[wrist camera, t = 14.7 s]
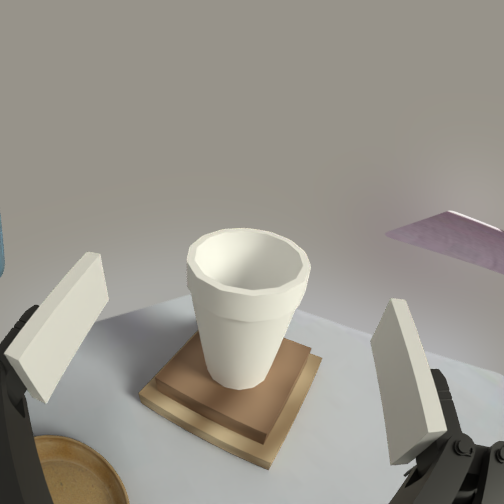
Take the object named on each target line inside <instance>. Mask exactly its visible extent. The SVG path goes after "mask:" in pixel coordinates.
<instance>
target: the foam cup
mask: <svg viewBox="0 0 504 504" xmlns="http://www.w3.org/2000/svg"><path fill="white" fill-rule="evenodd" d="M310 269H311V265H310V263H309V260H308V257H307V255H306V252H305V251H303V250H302V249H301V248H300V247H299V246H297V245H296V244H295V243H294V242H293V241H291V240H289V239H287V238H284V237H282V236H280V235H277V234H275V233H272V232H268V231H262V230H256V229H250V228H236V229H222V230H219V231H216V232H212V233H209V234H206V235H203V236H202V237H201V238H199V239H198V240H197V241H196V242H195V243H193V244H192V245H191V246H190V248H189V252H188V256H187V287H188V289H189V290H190V292H191V296H192V301H193V306H194V311H195V316H196V321H197V325H198V330H199V335H200V340H201V344H202V349H203V353H204V358H205V362H206V366H207V370H208V371H209V373H210V375H211V377H212V378H213V380H215V381H216V382H218V383H219V384H221V385H222V386H224V387H226V388H231V389H236V390H242V389H248V388H253V387H255V386H256V385H258V384H259V383H261V382H262V381H264V379H265V377H266V375H267V374H268V372H269V369H270V367H271V365H272V363H273V361H274V359H275V356H276V354H277V352H278V349H279V347H280V345H281V342H282V340H283V338H284V335H285V333H286V331H287V328H288V326H289V324H290V321H291V319H292V316H293V314H294V312H295V309H296V308H297V307H298V306H299V304H300V302H301V300H302V298H303V295H304V293H305V291H306V287H307V282H308V278H309V274H310Z"/></svg>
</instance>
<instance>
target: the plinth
mask: <svg viewBox="0 0 504 504" xmlns="http://www.w3.org/2000/svg"><path fill="white" fill-rule="evenodd" d="M310 351H311V348H310V347H307V346H304V345H302V344H299V343H296V342H294V341H291V340H288V339H286V338H283V340H282V342H281V345H280V347H279V349H278V352H277V354H276V356H275V359H274V361H273V363H272V365H271V367H270V369H269V372H268V374H267V375H266V377H265V379H264V381H262V382H261V383H259V384H258V385H256V386H255V387H253V388H248V389H242V390H236V389H231V388H226V387H224V386H222V385H221V384H219V383H218V382H216V381H215V380H213V378H212V377H211V375H210V373H209V371H208V370H207V366H206V362H205V358H204V353H203V349H202V344H201V340H200V335H199V330H198V331H197V332H196V333H195V334H194V335H193V336H192V337H191V338H190V339H189V340H188V341H187V342H186V343H185V345H184V346H183V347H182V348H181V349H180V350H179V351H178V352H177V353H176V354H175V355H174V356H173V357H172V358H171V359H170V360H169V362H168V363H167V364H166V365H165V366H164V367H163V368H162V369H161V370H160V371H159V372H158V373H157V374H156V375H155V376H154V377H153V378H152V379H151V381H150V382H149V383H148V384H147V385H146V386H145V387H144V388H143V389H142V390H141V391H140V392H139V393H138V394H139V397H140V400H141V403H142V404H144V405H145V406H147V407H148V408H150V409H152V410H153V411H155V412H156V413H158V414H160V415H161V416H163V417H165V418H166V419H168V420H170V421H171V422H173V423H175V424H176V425H178V426H180V427H182V428H183V429H185V430H187V431H189V432H191V433H192V434H194V435H196V436H198V437H200V438H202V439H204V440H205V441H207V442H209V443H211V444H213V445H215V446H217V447H219V448H221V449H223V450H225V451H227V452H229V453H231V454H234V455H236V456H238V457H240V458H242V459H244V460H247V461H249V462H251V463H253V464H256V465H258V466H260V467H263V468H265V469H267V470H269V468H270V466H271V464H272V463H273V461H274V459H275V457H276V455H277V453H278V451H279V449H280V448H281V446H282V444H283V442H284V440H285V438H286V436H287V434H288V432H289V430H290V428H291V426H292V424H293V422H294V420H295V418H296V416H297V414H298V412H299V410H300V408H301V405H302V403H303V401H304V399H305V397H306V395H307V393H308V390H309V388H310V386H311V384H312V382H313V379H314V377H315V375H316V373H317V370H318V368H319V365H320V363H321V360H322V358H321V357H318V356H315V355H313V354H310Z"/></svg>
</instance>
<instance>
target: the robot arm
mask: <svg viewBox="0 0 504 504" xmlns="http://www.w3.org/2000/svg"><path fill="white" fill-rule="evenodd" d="M4 264H5V260H4V245H3V235H2V225H1V215H0V277H1V276H2V274H3V271H4ZM108 301H109V297H108V292H107V287H106V282H105V277H104V272H103V266H102V261H101V255H100V254H97V253H92V252H86V253H85V254H84V255H83V257H82V258H81V259H80V260H79V261H78V262H77V263H76V264H75V265H74V266H73V268H72V269H71V270H70V271H69V272H68V273H67V275H66V276H65V277H64V278H63V279H62V280H61V281H60V283H59V284H58V285H57V286H56V287H55V288H54V290H53V291H52V292H51V293H50V294H49V296H48V297H47V298H46V299H45V300H44V302H43V303H42V304H41V305H40V306H38V305H34V306H32V307H31V308H30V309H28V310H27V311H25V313H24V314H23V315H22V316H21V318H20V319H19V321H18V322H17V323H16V324H15V325H14V328H12V329H11V331H10V332H9V333H8V335H7V336H6V337H5V338H4V340H3V341H2V342H1V344H0V504H54V503H53V500H52V497H51V495H50V492H49V489H48V486H47V483H46V480H45V476H44V473H43V470H42V467H41V463H40V459H39V456H38V452H37V448H36V444H35V440H34V436H33V432H32V427H31V422H30V417H29V412H28V407H27V401H26V398H25V395H24V393H25V392H26V390H28V392H29V393H30V394H31V396H32V397H33V398H35V399H37V400H39V401H41V402H43V403H46V404H47V402H48V400H49V398H50V397H51V395H52V393H53V391H54V389H55V388H56V386H57V384H58V382H59V380H60V379H61V377H62V375H63V373H64V372H65V370H66V368H67V367H68V365H69V363H70V361H71V360H72V358H73V356H74V355H75V353H76V351H77V350H78V348H79V347H80V345H81V343H82V342H83V340H84V338H85V337H86V335H87V334H88V332H89V330H90V329H91V327H92V326H93V324H94V322H95V321H96V319H97V318H98V316H99V315H100V313H101V312H102V310H103V309H104V307H105V305H106V304H107V302H108ZM370 342H371V347H372V352H373V357H374V362H375V367H376V372H377V377H378V383H379V388H380V394H381V400H382V406H383V413H384V419H385V426H386V433H387V441H388V449H389V457H390V465H401V464H408V463H409V462H411V461H412V460H413V459H415V458H416V463H417V465H415V466H414V467H413V468H411V469H410V470H409V471H407V472H406V473H405V474H404V476H405V477H406V476H407V475H408V474H409V475H408V477H407V478H406V480H405V481H404V483H403V484H402V486H401V487H400V489H399V490H398V491H397V493H396V494H395V496H394V497H393V498H392V500H391V501H390V503H389V504H504V441H498V442H496V443H495V444H493V445H492V446H491V447H486V446H481V445H476V444H474V442H473V440H472V439H471V438H470V437H469V436H468V435H466V434H464V433H462V431H461V428H460V424H459V420H458V417H457V413H456V410H455V406H454V403H453V400H452V396H451V393H450V392H449V387H448V384H447V381H446V378H445V377H444V376H443V374H442V373H441V372H440V370H439V369H430V367H429V364H428V361H427V358H426V355H425V352H424V349H423V346H422V343H421V341H420V338H419V335H418V332H417V329H416V327H415V324H414V321H413V319H412V316H411V313H410V311H409V308H408V305H407V303H406V300H402V299H393V298H390V301H389V303H388V305H387V307H386V309H385V312H384V314H383V316H382V318H381V320H380V322H379V325H378V326H377V328H376V331H375V333H374V335H373V337H372V339H371V341H370Z"/></svg>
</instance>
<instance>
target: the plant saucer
mask: <svg viewBox="0 0 504 504" xmlns="http://www.w3.org/2000/svg"><path fill="white" fill-rule="evenodd" d="M34 440H35V444H36V448H37V452H38V456H39V459H40V463H41V467H42V470H43V473H44V476H45V480H46V483H47V486H48V489H49V492H50V495H51V497H52V500H53V503H54V504H130V503H129V499H128V495H127V492H126V489H125V487H124V485H123V483H122V481H121V479H120V477H119V476H118V474H117V473H116V471H115V470H114V468H113V467H112V466H111V465H110V463H109V462H108V461H107V460H106V459H105V458H104V457H103V456H102V455H100V454H99V453H98V452H97V451H95V450H94V449H92V448H91V447H89V446H87V445H86V444H84V443H82V442H79V441H77V440H74V439H71V438H68V437H63V436H55V435H42V436H35V437H34Z"/></svg>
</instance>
